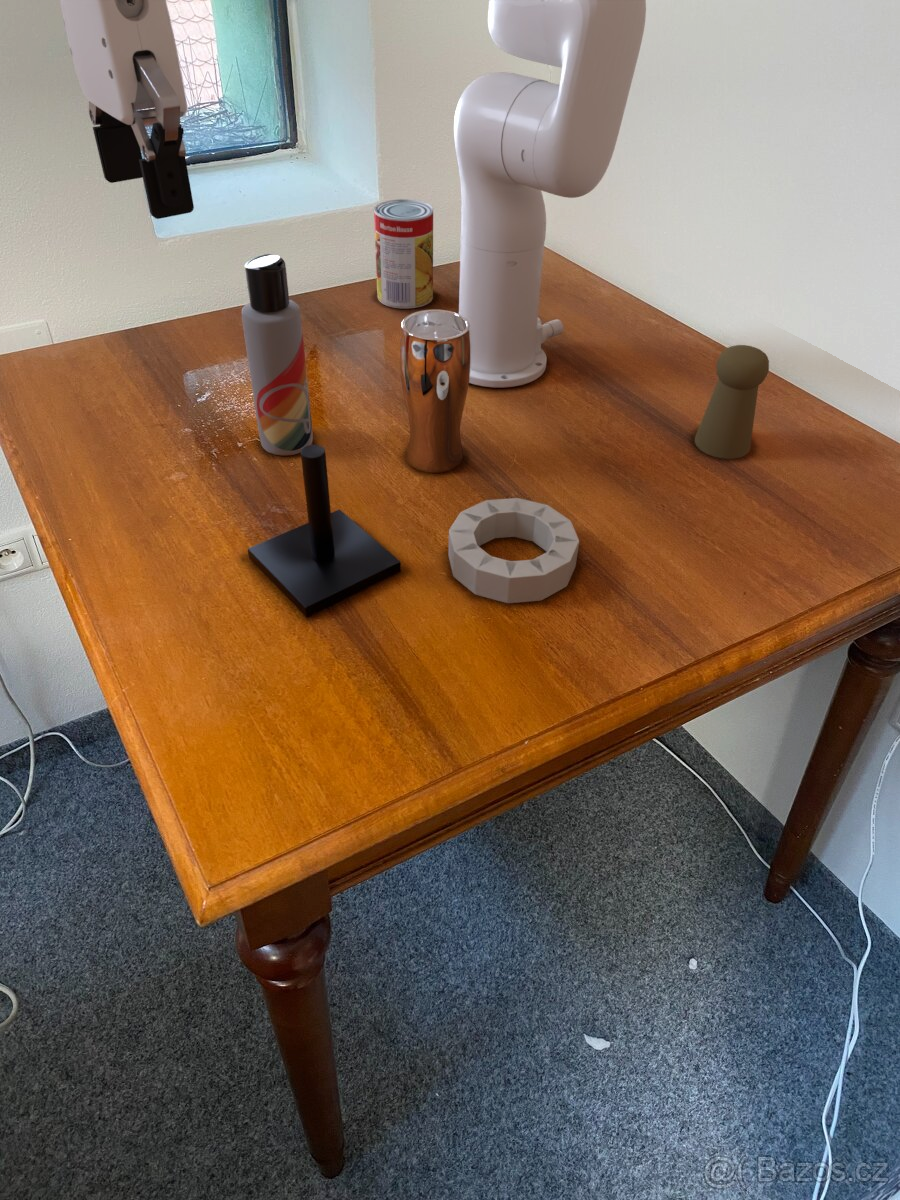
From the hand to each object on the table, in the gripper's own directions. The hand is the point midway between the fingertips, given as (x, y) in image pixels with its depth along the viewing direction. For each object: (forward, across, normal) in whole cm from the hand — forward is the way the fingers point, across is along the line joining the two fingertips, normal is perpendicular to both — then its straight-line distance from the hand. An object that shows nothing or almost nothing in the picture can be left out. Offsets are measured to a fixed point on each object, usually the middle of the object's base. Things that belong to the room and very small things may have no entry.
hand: (148, 196), depth 68 cm
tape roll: (+29, -25, -19) cm, 42 cm away
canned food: (+29, +30, -43) cm, 60 cm away
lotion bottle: (+29, +5, -11) cm, 31 cm away
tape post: (+29, -16, -4) cm, 33 cm away
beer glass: (+29, -6, -23) cm, 37 cm away
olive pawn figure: (+29, -22, -51) cm, 62 cm away
